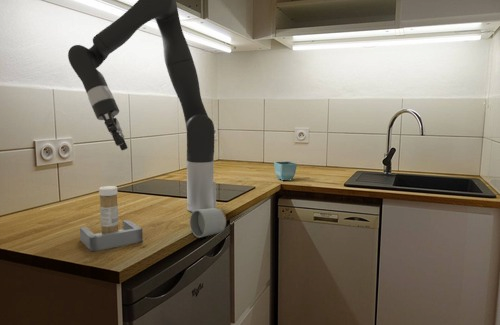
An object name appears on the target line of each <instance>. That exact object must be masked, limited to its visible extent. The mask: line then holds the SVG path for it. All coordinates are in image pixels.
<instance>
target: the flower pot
mask: <svg viewBox="0 0 500 325" xmlns="http://www.w3.org/2000/svg"><path fill="white" fill-rule="evenodd" d="M273 166H274V174H275V176H276V178H277V180H279V179H281V180H290V179H292V180H293V179H294V177H295V174H296V172H297V163H296V162H293V161H274V162H273ZM281 180H280V181H281Z"/></svg>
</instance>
